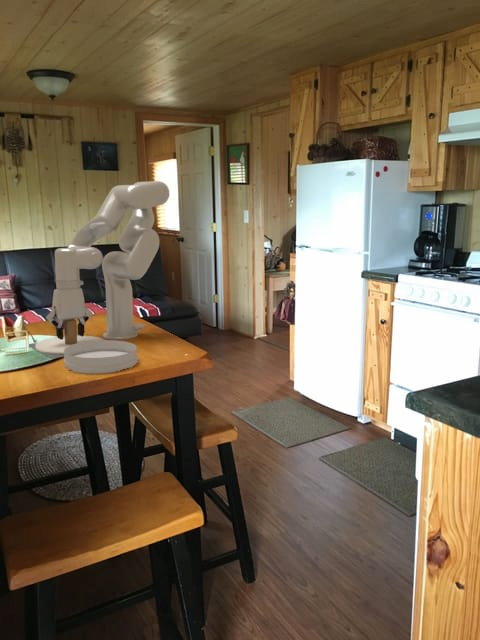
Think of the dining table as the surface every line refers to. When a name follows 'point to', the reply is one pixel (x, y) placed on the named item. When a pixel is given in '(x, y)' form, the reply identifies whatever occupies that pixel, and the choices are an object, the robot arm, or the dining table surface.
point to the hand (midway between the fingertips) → (70, 336)
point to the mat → (45, 353)
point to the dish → (100, 356)
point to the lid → (64, 340)
